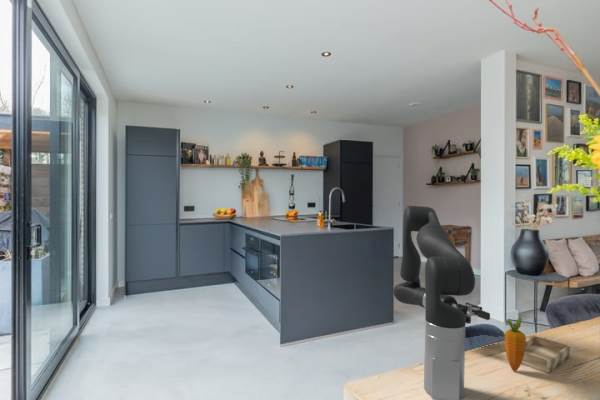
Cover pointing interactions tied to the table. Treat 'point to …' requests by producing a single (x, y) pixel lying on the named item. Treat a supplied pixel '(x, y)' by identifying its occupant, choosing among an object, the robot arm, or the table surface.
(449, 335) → the robot arm
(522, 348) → the carrot
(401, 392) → the table surface
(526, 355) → the oak tray
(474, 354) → the table surface
